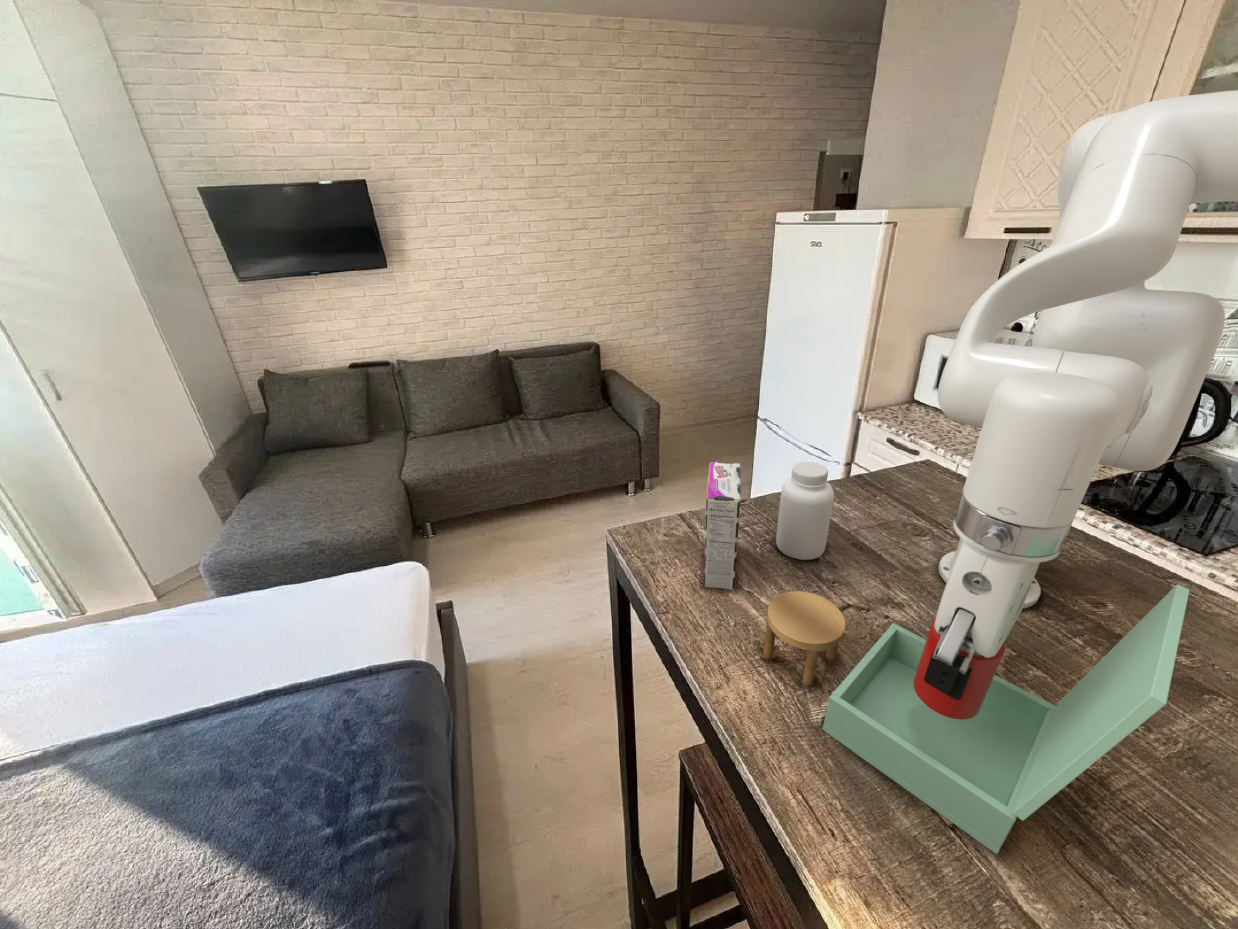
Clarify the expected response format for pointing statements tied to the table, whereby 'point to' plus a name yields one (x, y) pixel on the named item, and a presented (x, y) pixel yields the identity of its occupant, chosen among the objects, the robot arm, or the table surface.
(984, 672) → the soda can
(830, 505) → the pill bottle
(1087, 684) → the lid
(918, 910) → the table surface
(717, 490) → the candy bar box
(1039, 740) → the box
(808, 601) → the stool
